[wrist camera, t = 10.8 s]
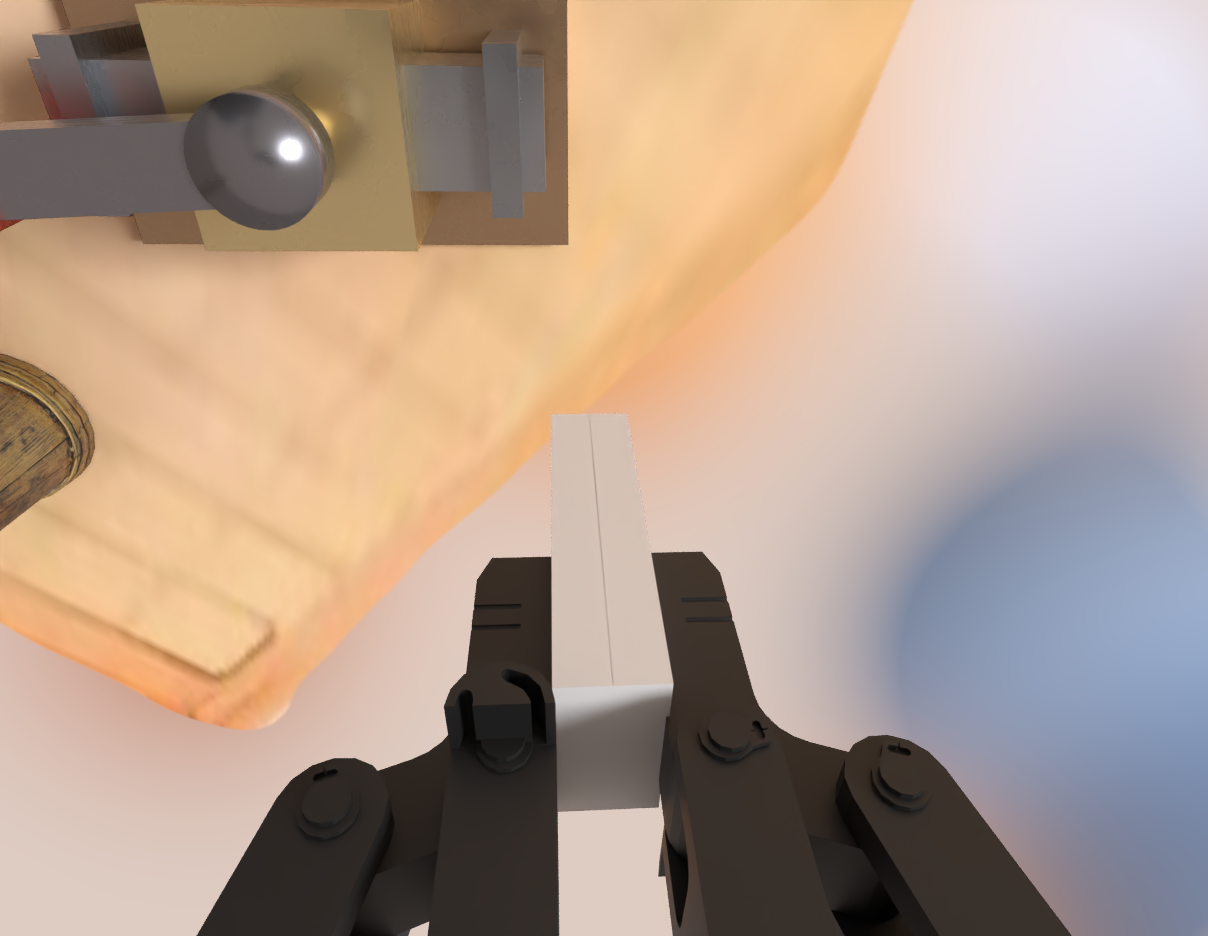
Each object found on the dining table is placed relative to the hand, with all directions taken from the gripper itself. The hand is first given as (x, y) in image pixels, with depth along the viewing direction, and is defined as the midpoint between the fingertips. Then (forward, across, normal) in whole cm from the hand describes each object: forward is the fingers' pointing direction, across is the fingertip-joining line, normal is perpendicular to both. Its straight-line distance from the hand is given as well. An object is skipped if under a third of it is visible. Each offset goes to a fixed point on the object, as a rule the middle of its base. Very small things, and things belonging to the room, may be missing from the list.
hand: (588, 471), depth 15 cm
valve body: (+24, -10, +3) cm, 27 cm away
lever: (+15, -16, +3) cm, 22 cm away
